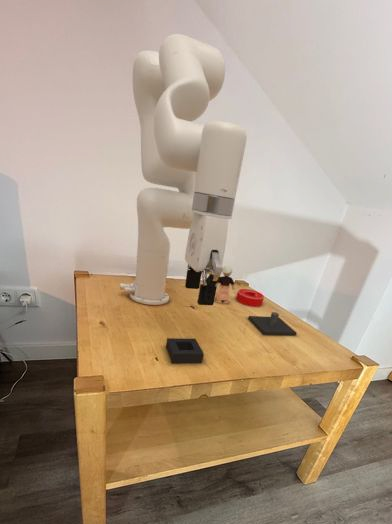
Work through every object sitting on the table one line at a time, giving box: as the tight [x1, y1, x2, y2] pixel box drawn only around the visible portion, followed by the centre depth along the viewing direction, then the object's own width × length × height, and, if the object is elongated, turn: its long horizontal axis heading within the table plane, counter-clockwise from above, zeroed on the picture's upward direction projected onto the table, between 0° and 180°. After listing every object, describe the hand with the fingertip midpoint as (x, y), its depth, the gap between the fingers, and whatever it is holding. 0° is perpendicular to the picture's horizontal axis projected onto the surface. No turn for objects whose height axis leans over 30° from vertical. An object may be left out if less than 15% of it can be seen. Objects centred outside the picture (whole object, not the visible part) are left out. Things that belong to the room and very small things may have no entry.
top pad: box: [165, 337, 205, 365], centre depth 68 cm, size 7×7×2 cm
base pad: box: [247, 311, 297, 336], centre depth 91 cm, size 11×11×4 cm
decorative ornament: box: [235, 288, 265, 307], centre depth 109 cm, size 10×10×3 cm
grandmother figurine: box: [215, 265, 236, 304], centre depth 101 cm, size 8×4×13 cm, turn 111°
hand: (198, 295), depth 62 cm, fingers open, 9 cm apart
